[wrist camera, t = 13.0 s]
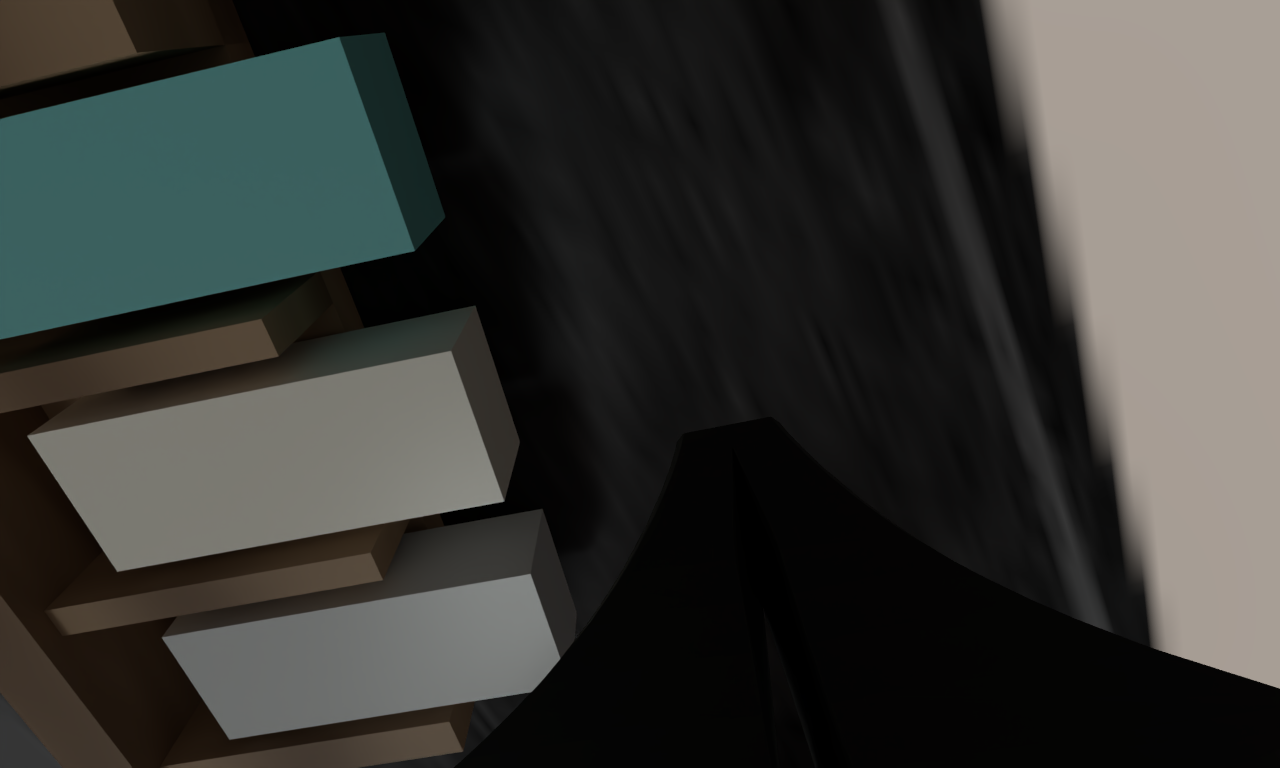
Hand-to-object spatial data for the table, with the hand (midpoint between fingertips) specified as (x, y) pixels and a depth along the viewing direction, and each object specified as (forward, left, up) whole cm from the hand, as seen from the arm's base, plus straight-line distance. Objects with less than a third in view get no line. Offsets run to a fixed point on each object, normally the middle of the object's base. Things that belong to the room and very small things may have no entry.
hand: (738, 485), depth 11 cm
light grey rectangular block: (+5, +8, -5) cm, 11 cm away
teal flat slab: (+10, 0, -5) cm, 11 cm away
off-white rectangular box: (+7, +4, -5) cm, 10 cm away
